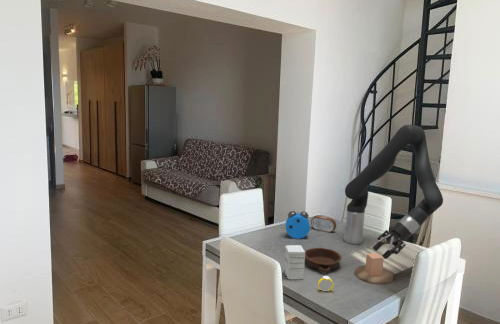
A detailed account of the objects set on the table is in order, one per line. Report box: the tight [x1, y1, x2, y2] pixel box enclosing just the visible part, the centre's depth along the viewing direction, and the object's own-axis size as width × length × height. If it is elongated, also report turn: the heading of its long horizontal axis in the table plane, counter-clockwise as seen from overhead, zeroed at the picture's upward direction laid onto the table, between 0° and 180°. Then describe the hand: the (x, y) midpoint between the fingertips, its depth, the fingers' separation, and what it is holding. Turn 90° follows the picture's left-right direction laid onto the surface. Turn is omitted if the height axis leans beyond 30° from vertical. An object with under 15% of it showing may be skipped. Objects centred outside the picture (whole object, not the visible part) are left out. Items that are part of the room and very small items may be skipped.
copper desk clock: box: [310, 215, 337, 233], centre depth 221 cm, size 15×3×8 cm, turn 58°
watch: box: [317, 275, 334, 291], centre depth 151 cm, size 6×3×6 cm, turn 89°
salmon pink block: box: [365, 252, 385, 276], centre depth 165 cm, size 5×5×8 cm
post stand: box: [354, 264, 394, 285], centre depth 165 cm, size 16×16×7 cm
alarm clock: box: [285, 210, 311, 240], centre depth 209 cm, size 13×6×15 cm, turn 86°
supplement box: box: [283, 244, 306, 279], centre depth 163 cm, size 7×7×13 cm
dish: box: [304, 247, 343, 274], centre depth 175 cm, size 17×22×5 cm
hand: (378, 253), depth 165 cm, fingers open, 8 cm apart
